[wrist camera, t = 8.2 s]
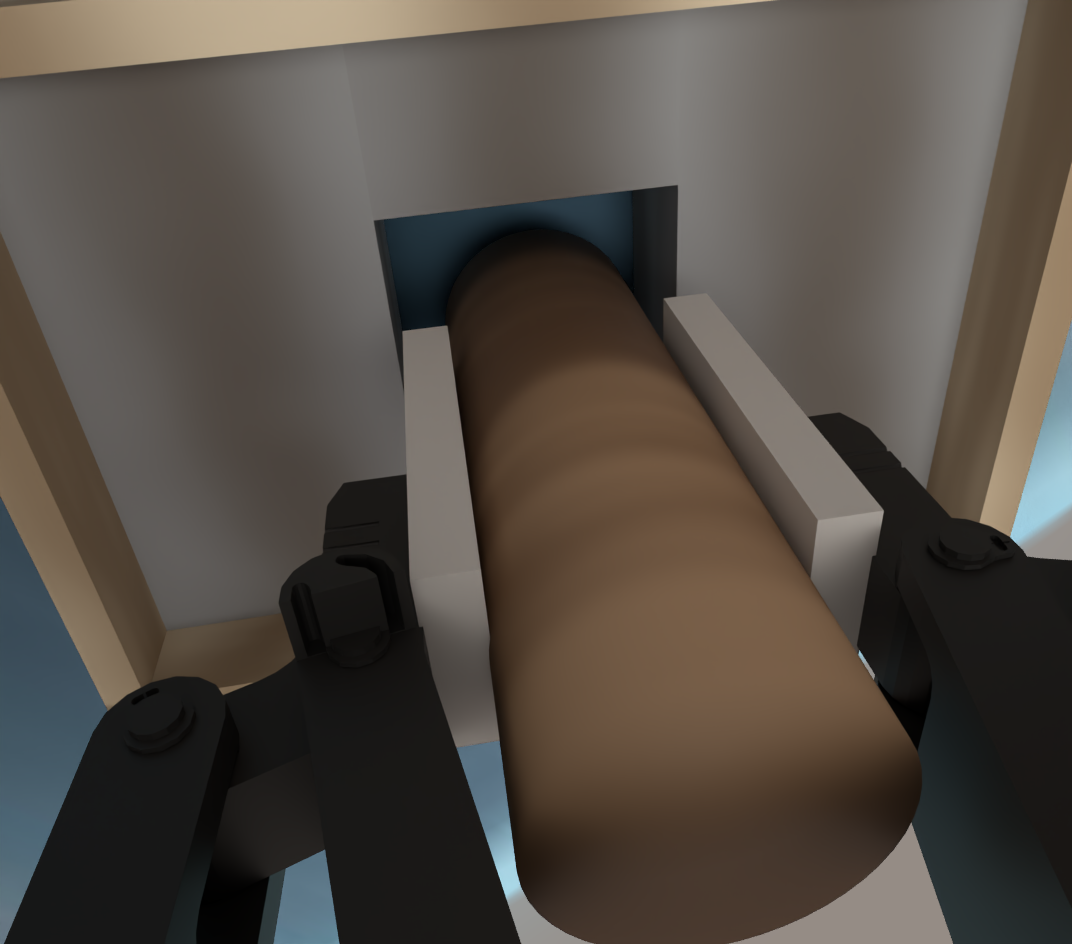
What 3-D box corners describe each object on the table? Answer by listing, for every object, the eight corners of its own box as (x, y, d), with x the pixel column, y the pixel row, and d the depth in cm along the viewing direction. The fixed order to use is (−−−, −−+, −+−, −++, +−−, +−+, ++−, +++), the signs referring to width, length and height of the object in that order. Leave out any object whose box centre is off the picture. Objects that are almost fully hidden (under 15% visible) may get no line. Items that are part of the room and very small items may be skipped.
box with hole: (172, 564, 23) (119, 732, 18) (-51, -9, 15) (-235, 29, 11) (878, 461, 24) (994, 591, 20) (973, -104, 17) (1191, -106, 12)
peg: (433, 241, 17) (496, 730, 7) (626, 218, 17) (957, 654, 7) (457, 414, 19) (533, 979, 9) (630, 390, 19) (890, 914, 9)
